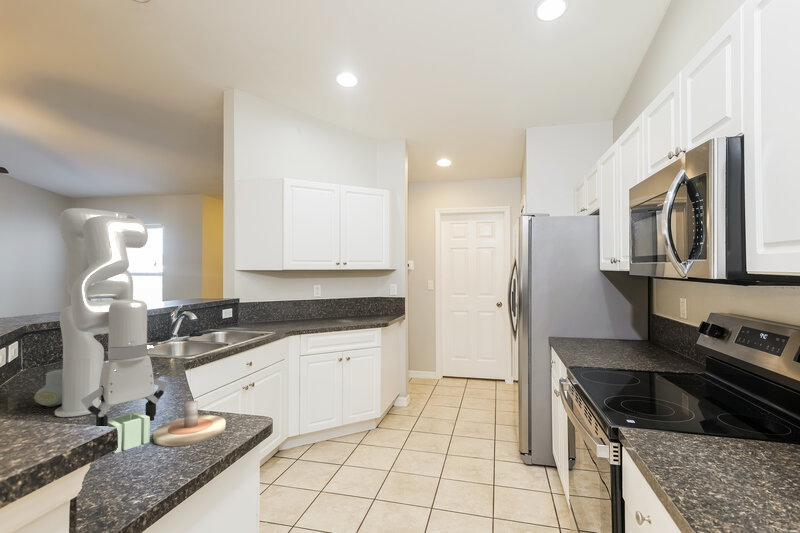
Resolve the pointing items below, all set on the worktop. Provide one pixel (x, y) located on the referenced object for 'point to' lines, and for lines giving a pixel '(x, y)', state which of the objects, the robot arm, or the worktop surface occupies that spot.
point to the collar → (131, 429)
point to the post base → (189, 428)
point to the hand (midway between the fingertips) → (127, 426)
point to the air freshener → (51, 389)
